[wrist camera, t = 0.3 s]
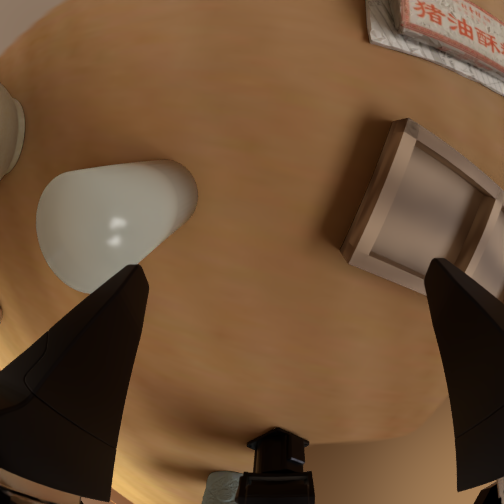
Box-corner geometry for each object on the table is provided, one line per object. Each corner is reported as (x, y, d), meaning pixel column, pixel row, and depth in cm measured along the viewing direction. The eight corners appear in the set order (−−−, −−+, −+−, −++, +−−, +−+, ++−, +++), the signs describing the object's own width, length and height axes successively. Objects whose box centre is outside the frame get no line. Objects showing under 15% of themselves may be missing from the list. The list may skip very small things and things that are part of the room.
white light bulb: (170, 243, 24) (98, 315, 13) (121, 200, 23) (25, 241, 12) (212, 189, 22) (153, 227, 11) (158, 145, 21) (63, 146, 10)
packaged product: (520, 20, 9) (536, 100, 12) (496, 29, 13) (507, 102, 17) (371, -56, 9) (385, 25, 13) (358, -31, 14) (365, 45, 17)
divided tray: (492, 317, 24) (504, 329, 22) (339, 250, 23) (348, 263, 20) (532, 232, 20) (547, 239, 18) (392, 121, 19) (408, 117, 16)
